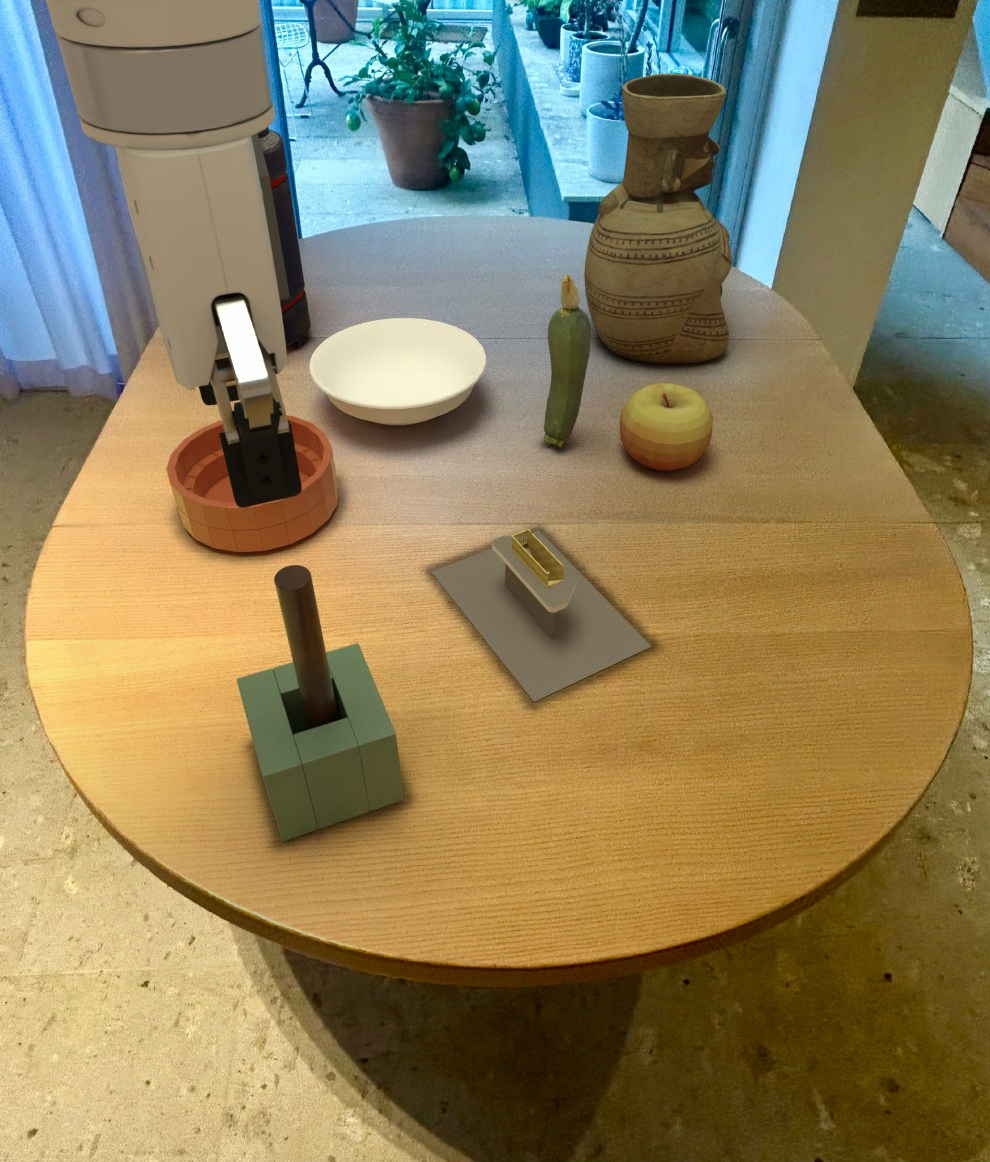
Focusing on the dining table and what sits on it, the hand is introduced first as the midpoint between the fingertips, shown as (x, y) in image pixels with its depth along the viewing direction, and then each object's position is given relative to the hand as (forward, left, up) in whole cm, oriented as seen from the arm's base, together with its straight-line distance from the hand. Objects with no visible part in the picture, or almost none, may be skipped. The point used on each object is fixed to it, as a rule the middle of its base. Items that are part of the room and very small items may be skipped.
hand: (249, 445), depth 46 cm
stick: (+1, 0, -30) cm, 30 cm away
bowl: (+21, +46, -30) cm, 59 cm away
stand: (0, 0, -30) cm, 30 cm away
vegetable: (+35, +32, -30) cm, 56 cm away
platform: (+22, +10, -30) cm, 38 cm away
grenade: (+10, +68, -30) cm, 75 cm away
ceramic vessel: (+56, +49, -30) cm, 80 cm away
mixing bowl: (+2, +34, -30) cm, 45 cm away
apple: (+44, +26, -30) cm, 59 cm away
